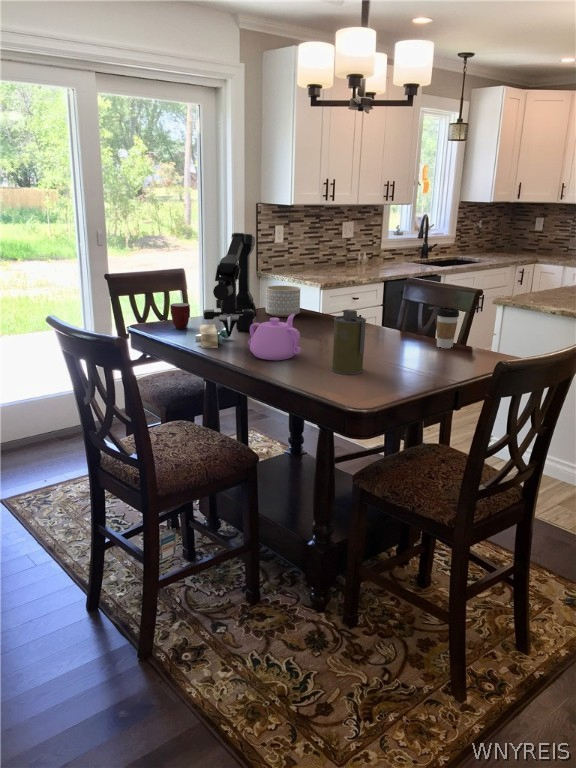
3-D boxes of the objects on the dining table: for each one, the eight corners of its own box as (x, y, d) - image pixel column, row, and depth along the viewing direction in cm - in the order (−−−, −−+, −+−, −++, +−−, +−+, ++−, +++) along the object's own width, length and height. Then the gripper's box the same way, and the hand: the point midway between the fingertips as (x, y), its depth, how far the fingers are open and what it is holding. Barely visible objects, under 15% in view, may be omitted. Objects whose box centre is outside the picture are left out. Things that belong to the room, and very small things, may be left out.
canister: (325, 369, 200) (327, 310, 194) (345, 364, 207) (348, 306, 201) (350, 376, 193) (353, 315, 187) (370, 371, 200) (374, 311, 194)
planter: (284, 310, 301) (285, 284, 297) (306, 315, 289) (307, 288, 285) (258, 313, 291) (258, 287, 287) (280, 319, 279) (280, 291, 275)
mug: (197, 329, 254) (196, 305, 251) (180, 331, 249) (180, 308, 246) (183, 325, 261) (183, 302, 258) (167, 327, 256) (166, 304, 253)
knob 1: (221, 342, 231) (221, 331, 230) (222, 344, 227) (222, 333, 226) (195, 342, 229) (195, 331, 228) (195, 345, 225) (195, 334, 224)
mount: (214, 337, 241) (214, 324, 239) (217, 347, 225) (217, 334, 223) (199, 337, 240) (199, 324, 238) (201, 348, 224) (201, 334, 222)
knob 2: (227, 337, 239) (227, 326, 238) (228, 339, 235) (228, 329, 234) (207, 337, 238) (207, 327, 237) (208, 340, 234) (207, 329, 233)
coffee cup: (437, 343, 240) (441, 305, 235) (458, 346, 236) (462, 308, 231) (430, 347, 233) (434, 308, 228) (452, 350, 229) (456, 311, 224)
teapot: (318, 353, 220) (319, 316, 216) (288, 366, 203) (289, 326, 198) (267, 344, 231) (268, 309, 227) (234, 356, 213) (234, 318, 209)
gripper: (251, 292, 233) (251, 331, 238) (202, 292, 230) (203, 332, 235) (254, 296, 223) (254, 338, 228) (203, 297, 220) (204, 339, 225)
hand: (229, 336), depth 229 cm, fingers closed
